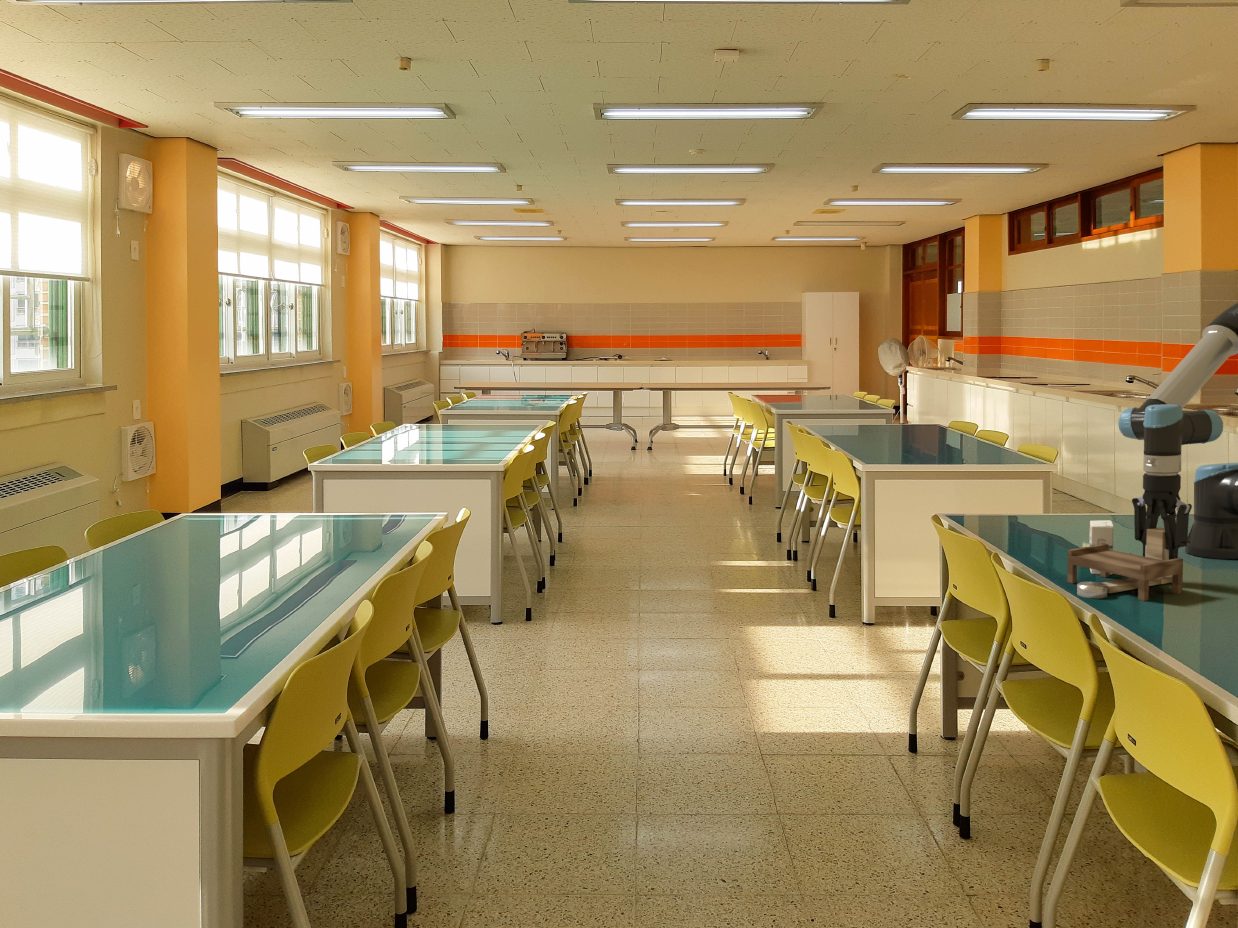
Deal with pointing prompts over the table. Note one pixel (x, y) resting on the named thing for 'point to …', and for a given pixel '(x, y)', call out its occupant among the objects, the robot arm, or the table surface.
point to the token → (1092, 590)
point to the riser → (1125, 567)
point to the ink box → (1101, 536)
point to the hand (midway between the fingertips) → (1159, 574)
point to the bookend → (1153, 550)
